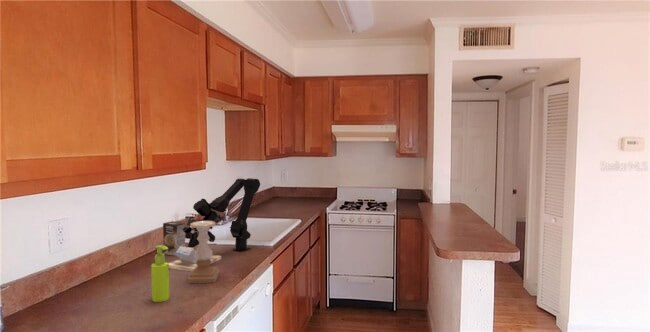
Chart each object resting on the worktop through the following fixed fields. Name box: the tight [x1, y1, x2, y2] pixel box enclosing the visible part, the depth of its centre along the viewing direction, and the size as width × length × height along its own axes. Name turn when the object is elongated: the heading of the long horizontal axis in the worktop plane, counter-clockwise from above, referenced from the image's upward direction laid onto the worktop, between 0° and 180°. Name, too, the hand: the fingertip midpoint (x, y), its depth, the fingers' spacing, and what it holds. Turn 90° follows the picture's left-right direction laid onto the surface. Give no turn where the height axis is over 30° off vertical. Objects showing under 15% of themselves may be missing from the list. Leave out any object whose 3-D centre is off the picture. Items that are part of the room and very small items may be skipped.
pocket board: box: [168, 254, 222, 273], centre depth 182 cm, size 20×16×2 cm
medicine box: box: [175, 246, 198, 264], centre depth 177 cm, size 8×4×9 cm
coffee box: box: [162, 221, 186, 257], centre depth 197 cm, size 9×6×16 cm
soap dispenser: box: [150, 244, 170, 303], centre depth 140 cm, size 6×7×20 cm
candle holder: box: [187, 221, 220, 284], centre depth 161 cm, size 11×11×24 cm
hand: (188, 249), depth 178 cm, fingers closed
